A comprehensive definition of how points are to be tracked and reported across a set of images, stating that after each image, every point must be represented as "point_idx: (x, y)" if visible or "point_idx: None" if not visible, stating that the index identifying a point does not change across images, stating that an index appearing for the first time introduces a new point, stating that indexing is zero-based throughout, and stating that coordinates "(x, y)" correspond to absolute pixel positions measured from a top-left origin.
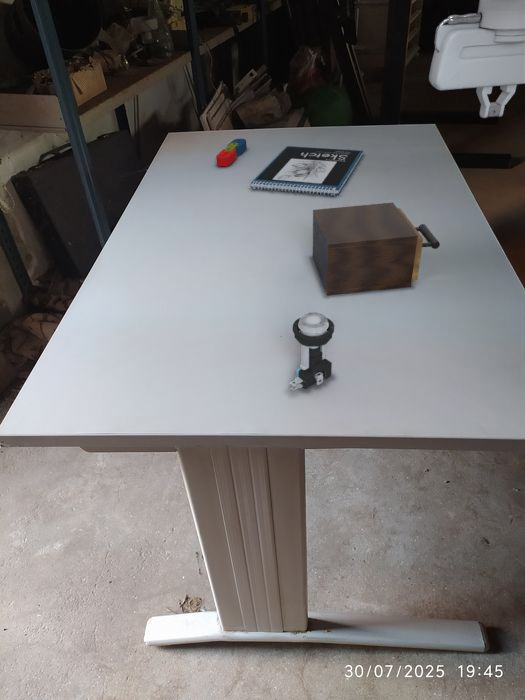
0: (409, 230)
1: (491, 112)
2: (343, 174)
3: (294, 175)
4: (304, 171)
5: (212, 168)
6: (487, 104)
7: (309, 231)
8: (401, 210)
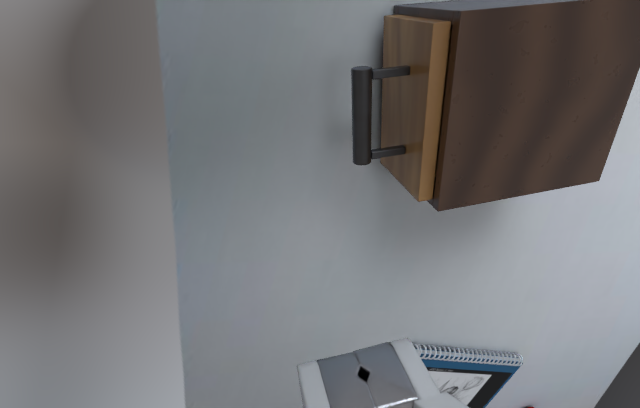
0: (467, 47)
1: (381, 365)
2: None
3: (457, 389)
4: None
5: (540, 402)
6: (442, 403)
7: (489, 232)
8: (420, 188)
